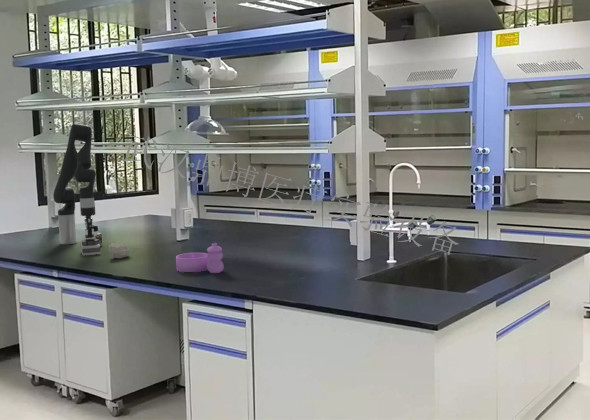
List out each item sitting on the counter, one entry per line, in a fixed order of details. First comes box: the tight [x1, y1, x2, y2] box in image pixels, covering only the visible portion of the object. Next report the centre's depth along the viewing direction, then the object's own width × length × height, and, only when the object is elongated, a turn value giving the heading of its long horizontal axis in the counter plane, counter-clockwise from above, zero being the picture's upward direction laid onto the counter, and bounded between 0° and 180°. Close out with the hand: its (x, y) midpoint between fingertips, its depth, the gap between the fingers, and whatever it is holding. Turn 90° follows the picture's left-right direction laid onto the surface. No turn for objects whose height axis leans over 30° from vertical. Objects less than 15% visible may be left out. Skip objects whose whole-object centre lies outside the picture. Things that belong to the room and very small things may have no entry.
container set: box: [175, 242, 225, 274], centre depth 294 cm, size 25×15×13 cm, turn 55°
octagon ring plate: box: [80, 239, 101, 257], centre depth 346 cm, size 12×9×7 cm
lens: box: [84, 228, 94, 241], centre depth 346 cm, size 5×5×8 cm
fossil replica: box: [107, 241, 130, 260], centre depth 331 cm, size 12×8×10 cm
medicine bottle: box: [83, 224, 103, 247], centre depth 368 cm, size 7×7×12 cm
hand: (89, 236), depth 346 cm, fingers open, 8 cm apart
